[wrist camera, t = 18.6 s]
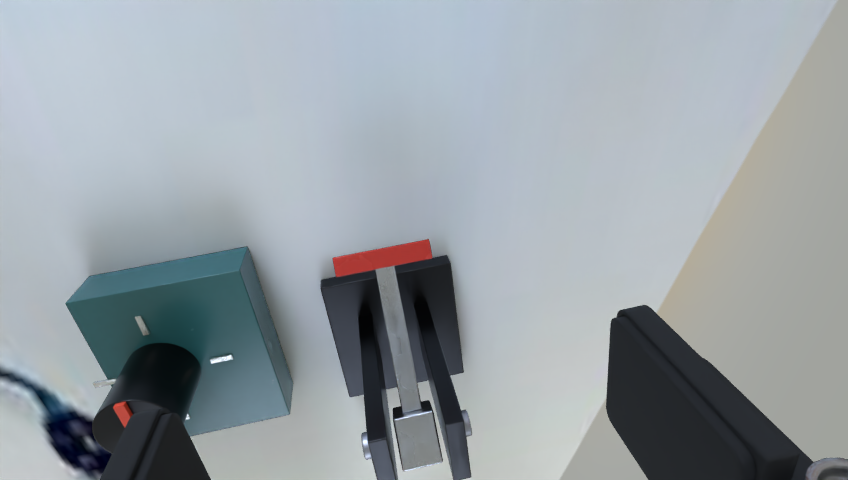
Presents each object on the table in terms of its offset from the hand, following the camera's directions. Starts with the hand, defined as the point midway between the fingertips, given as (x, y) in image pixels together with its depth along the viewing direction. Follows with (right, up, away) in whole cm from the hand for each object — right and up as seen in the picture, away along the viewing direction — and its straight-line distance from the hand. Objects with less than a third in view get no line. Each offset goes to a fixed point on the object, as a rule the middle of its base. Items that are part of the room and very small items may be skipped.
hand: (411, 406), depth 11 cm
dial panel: (-15, -3, +24) cm, 28 cm away
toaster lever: (-1, -3, +18) cm, 19 cm away
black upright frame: (-2, -3, +26) cm, 26 cm away
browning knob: (-16, -5, +21) cm, 27 cm away
